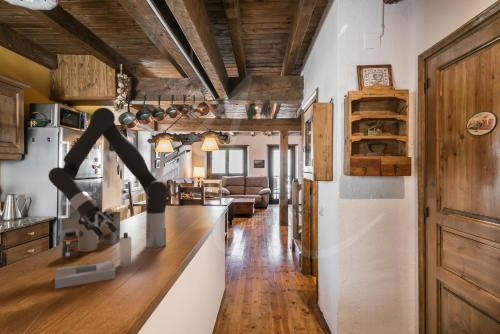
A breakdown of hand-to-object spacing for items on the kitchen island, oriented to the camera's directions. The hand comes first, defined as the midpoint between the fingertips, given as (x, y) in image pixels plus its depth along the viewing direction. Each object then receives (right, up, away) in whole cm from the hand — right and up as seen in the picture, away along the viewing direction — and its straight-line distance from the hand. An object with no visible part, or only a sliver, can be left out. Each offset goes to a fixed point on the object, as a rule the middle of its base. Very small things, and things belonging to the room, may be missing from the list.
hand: (108, 233), depth 118 cm
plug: (+7, -13, -1) cm, 15 cm away
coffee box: (-17, -13, +33) cm, 39 cm away
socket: (-1, -12, -15) cm, 20 cm away
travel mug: (-20, -13, +19) cm, 30 cm away
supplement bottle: (-22, -13, +8) cm, 26 cm away
